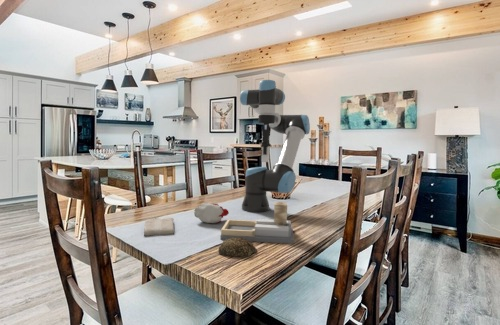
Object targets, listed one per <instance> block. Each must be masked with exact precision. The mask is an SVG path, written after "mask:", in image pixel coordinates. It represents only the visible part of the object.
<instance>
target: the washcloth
mask: <svg viewBox="0 0 500 325" xmlns="http://www.w3.org/2000/svg"><path fill="white" fill-rule="evenodd" d="M174 223H175V222H174V218H173V217H165V218H158V217H155V218H147V219H146V220H145V221H144V226H143V227H144V229H143V236H146V237H147V236H148V237H149V236H159V235H160V236H161V235H173V234H175V229H174Z"/></svg>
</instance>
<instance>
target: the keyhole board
mask: <svg viewBox="0 0 500 325" xmlns="http://www.w3.org/2000/svg"><path fill="white" fill-rule="evenodd" d="M219 236H220V240H223V241H225V240H226V239H231V238H243V239H246V240H247V241H249V242H259V243H260V242H261V243H274V244H275V243H276V244H293V245H294V244H295V237H294V230H293V226H292V222H291V220H288V219H287V223H283V226H282V225H277V222H274V219H265V218H264V219H263V218H257V219H256V220H242V219H227V220H226V221H225V223H224V224H223V226H222V228H221V229H220V235H219Z"/></svg>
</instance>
